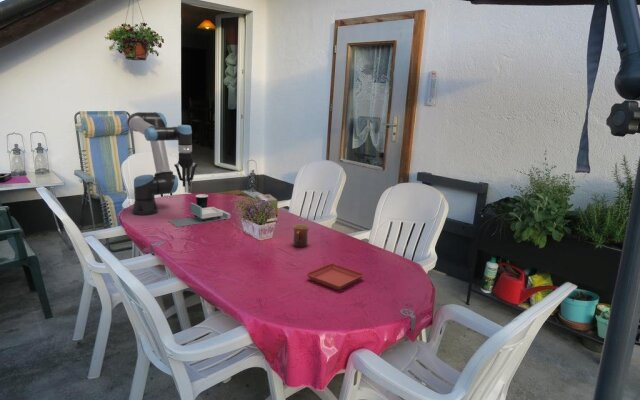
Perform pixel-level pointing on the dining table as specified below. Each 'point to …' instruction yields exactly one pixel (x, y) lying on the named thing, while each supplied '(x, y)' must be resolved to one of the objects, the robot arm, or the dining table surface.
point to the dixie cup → (202, 200)
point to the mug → (300, 235)
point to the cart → (205, 212)
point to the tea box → (269, 200)
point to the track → (198, 220)
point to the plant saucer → (334, 276)
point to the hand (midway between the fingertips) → (186, 191)
